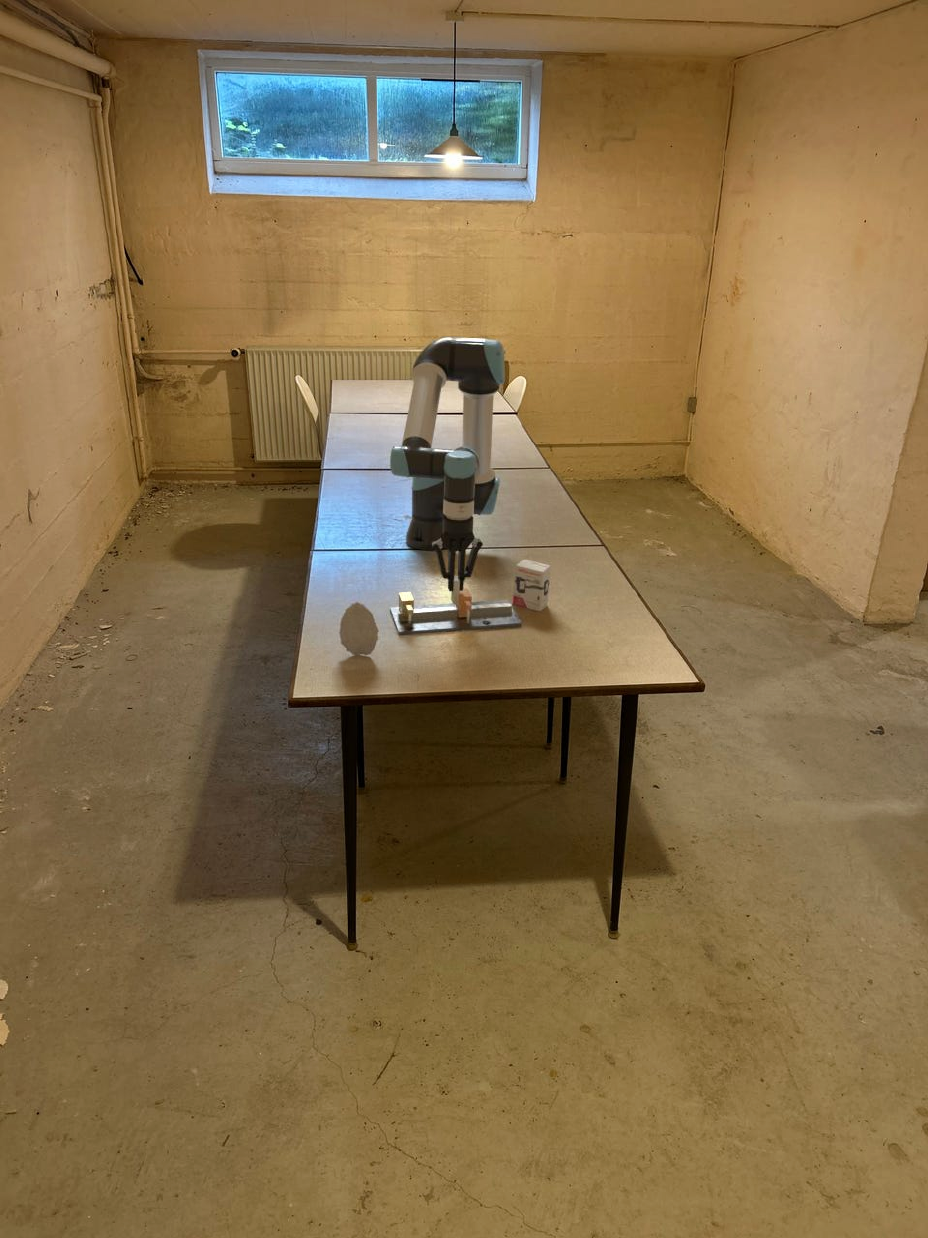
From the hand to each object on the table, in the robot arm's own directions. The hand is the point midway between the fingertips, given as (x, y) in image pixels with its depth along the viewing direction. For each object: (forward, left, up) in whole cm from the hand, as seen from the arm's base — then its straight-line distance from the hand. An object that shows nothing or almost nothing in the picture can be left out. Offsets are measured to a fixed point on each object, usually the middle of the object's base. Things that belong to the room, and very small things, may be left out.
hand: (455, 601), depth 219 cm
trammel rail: (+2, 0, -4) cm, 4 cm away
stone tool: (+16, -27, -5) cm, 32 cm away
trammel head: (+2, +2, -4) cm, 5 cm away
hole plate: (0, 0, -5) cm, 5 cm away
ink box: (-5, +22, -5) cm, 23 cm away
